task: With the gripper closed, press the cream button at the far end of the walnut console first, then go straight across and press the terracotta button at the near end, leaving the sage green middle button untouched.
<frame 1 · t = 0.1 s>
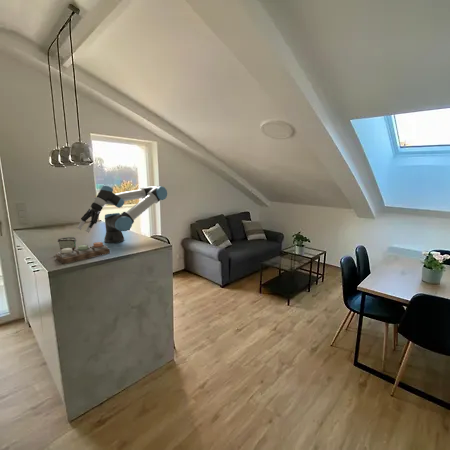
hand: (82, 230, 187), 15 cm above the counter, tool tilted 35°, fingers open, 13 cm apart
food container: (70, 251, 189), on the counter
console: (84, 256, 179), on the counter
sage button: (83, 247, 178), point 6 cm above the counter, slide at 0.0 cm
cream button: (66, 250, 170), point 6 cm above the counter, slide at 0.0 cm
terracotta button: (98, 244, 185), point 6 cm above the counter, slide at 0.0 cm
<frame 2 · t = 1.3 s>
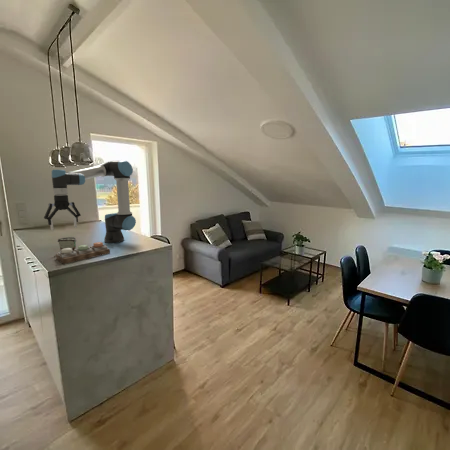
hand: (64, 228, 168), 20 cm above the counter, tool pointing down, fingers open, 13 cm apart
nothing on the counter moved.
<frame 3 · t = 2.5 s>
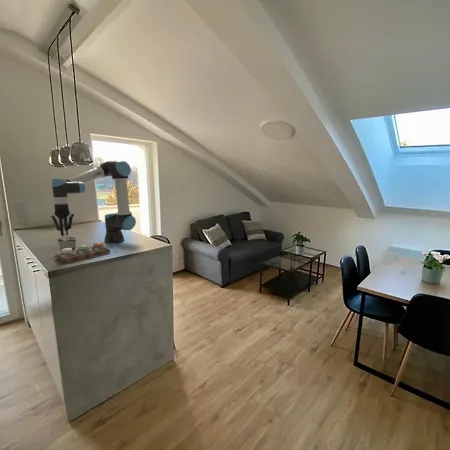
hand: (65, 240, 168), 13 cm above the counter, tool pointing down, fingers closed
nothing on the counter moved.
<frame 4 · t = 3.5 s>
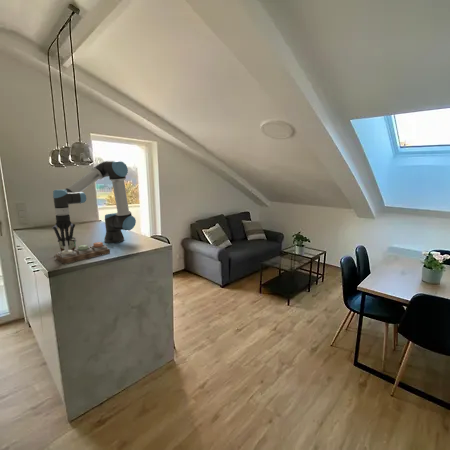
hand: (66, 250, 170), 6 cm above the counter, tool pointing down, fingers closed
cream button: (67, 252, 170), point 5 cm above the counter, slide at 1.2 cm, touching gripper
everything else where it was.
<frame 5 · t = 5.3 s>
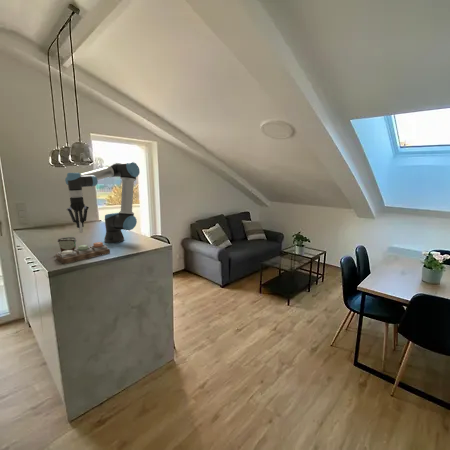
hand: (81, 232, 176), 17 cm above the counter, tool pointing down, fingers closed
cream button: (67, 253, 170), point 4 cm above the counter, slide at 1.5 cm
everything else where it was.
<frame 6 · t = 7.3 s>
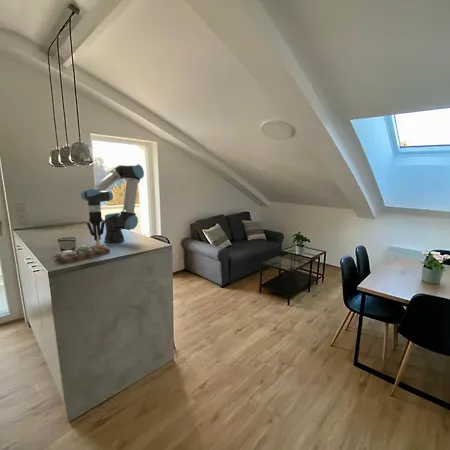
hand: (98, 244, 185), 6 cm above the counter, tool pointing down, fingers closed
terracotta button: (98, 246, 185), point 4 cm above the counter, slide at 1.3 cm, touching gripper
everything else where it was.
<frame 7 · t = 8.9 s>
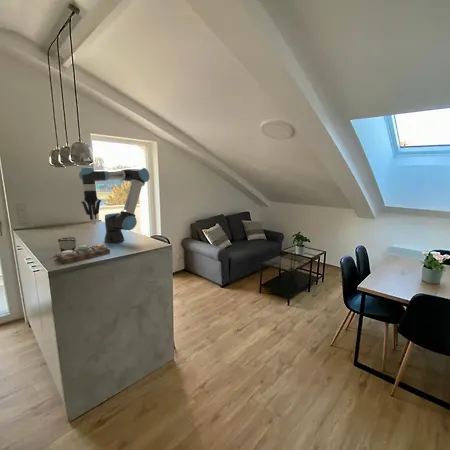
hand: (93, 224, 185), 20 cm above the counter, tool pointing down, fingers closed
terracotta button: (98, 246, 185), point 4 cm above the counter, slide at 1.5 cm
everything else where it was.
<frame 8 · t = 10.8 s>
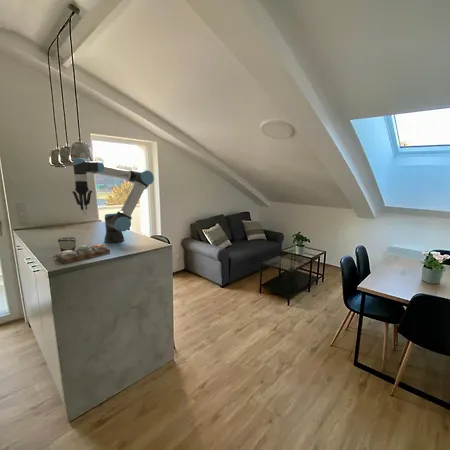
hand: (84, 214, 188), 26 cm above the counter, tool pointing down, fingers closed
nothing on the counter moved.
at the end: cream button slide at 1.5 cm; terracotta button slide at 1.5 cm; sage button slide at 0.0 cm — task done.
